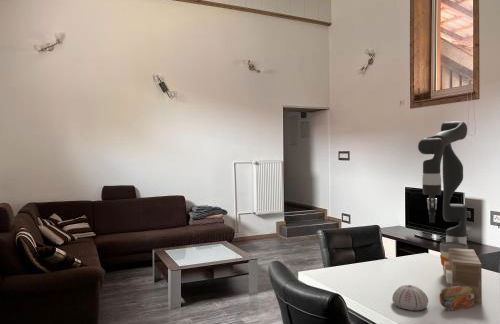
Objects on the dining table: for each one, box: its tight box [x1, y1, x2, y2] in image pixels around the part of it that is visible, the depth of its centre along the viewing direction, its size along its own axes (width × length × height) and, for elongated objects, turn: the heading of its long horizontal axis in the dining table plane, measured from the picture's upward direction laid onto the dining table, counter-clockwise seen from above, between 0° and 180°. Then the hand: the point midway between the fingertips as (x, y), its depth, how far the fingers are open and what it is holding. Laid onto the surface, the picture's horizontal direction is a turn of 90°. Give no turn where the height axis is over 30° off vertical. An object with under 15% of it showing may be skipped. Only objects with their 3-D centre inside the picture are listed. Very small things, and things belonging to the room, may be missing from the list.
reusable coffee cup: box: [439, 241, 469, 277], centre depth 189 cm, size 13×13×15 cm
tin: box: [439, 285, 476, 312], centre depth 150 cm, size 15×3×8 cm, turn 105°
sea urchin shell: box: [391, 284, 430, 312], centre depth 153 cm, size 13×14×8 cm
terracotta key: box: [444, 261, 450, 273], centre depth 175 cm, size 5×7×4 cm
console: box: [448, 248, 483, 305], centre depth 166 cm, size 24×10×16 cm, turn 157°
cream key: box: [445, 270, 452, 284], centre depth 162 cm, size 5×7×4 cm
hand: (432, 222), depth 172 cm, fingers closed
